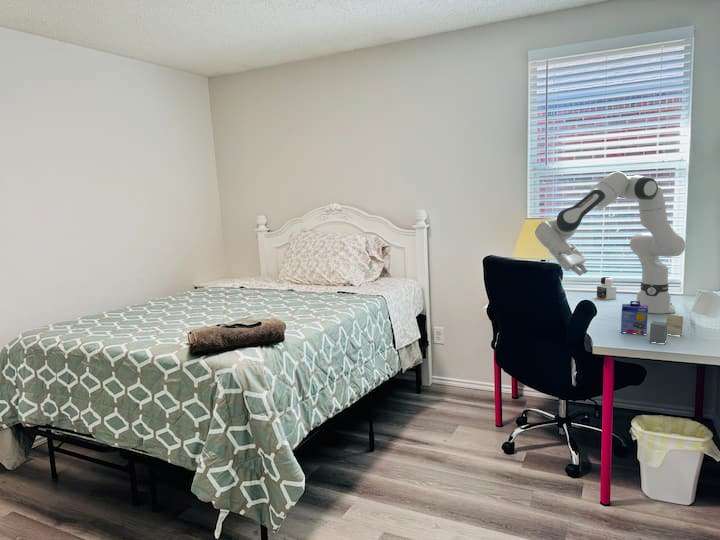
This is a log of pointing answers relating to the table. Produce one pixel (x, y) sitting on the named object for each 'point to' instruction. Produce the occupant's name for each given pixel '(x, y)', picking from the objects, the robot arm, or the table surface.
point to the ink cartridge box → (634, 318)
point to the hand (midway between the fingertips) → (583, 273)
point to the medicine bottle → (606, 289)
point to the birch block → (674, 324)
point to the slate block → (658, 332)
